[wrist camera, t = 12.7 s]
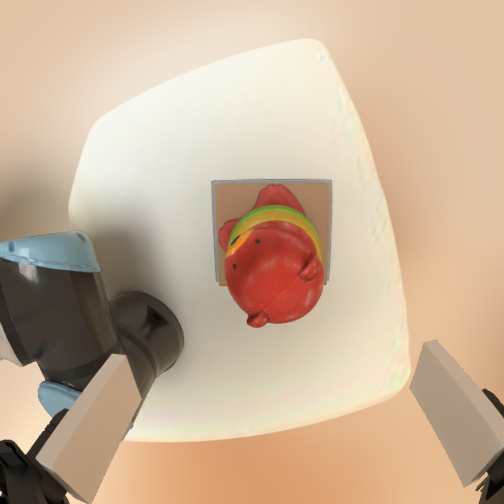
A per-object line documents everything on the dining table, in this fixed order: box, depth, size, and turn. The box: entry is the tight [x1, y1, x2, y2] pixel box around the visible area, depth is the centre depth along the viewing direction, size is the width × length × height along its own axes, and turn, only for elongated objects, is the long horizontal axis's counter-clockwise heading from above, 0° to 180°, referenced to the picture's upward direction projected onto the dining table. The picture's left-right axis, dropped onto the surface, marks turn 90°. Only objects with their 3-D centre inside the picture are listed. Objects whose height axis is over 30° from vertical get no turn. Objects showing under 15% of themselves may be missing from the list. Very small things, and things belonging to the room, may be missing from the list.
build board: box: [211, 179, 332, 286], centre depth 36 cm, size 16×14×4 cm
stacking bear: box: [218, 184, 324, 328], centre depth 26 cm, size 11×10×18 cm
